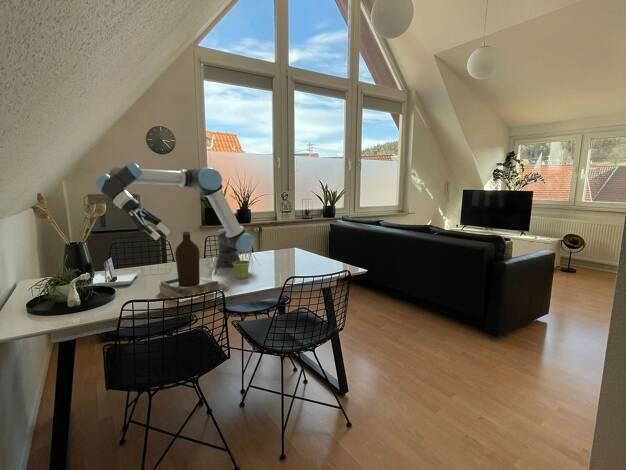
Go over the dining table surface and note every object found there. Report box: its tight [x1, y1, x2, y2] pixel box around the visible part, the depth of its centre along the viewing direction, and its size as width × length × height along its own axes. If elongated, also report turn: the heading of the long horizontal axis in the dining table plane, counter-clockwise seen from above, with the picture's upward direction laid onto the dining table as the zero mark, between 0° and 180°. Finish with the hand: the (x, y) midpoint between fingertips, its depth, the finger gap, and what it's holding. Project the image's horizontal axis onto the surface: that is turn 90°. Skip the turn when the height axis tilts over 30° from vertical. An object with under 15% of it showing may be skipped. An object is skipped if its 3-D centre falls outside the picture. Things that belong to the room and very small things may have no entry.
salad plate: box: [92, 269, 141, 287], centre depth 181 cm, size 21×21×3 cm
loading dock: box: [158, 276, 230, 298], centre depth 165 cm, size 25×20×6 cm
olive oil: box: [174, 231, 201, 287], centre depth 161 cm, size 11×11×25 cm
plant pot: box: [233, 259, 251, 280], centre depth 188 cm, size 9×9×9 cm
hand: (163, 235), depth 158 cm, fingers open, 13 cm apart
